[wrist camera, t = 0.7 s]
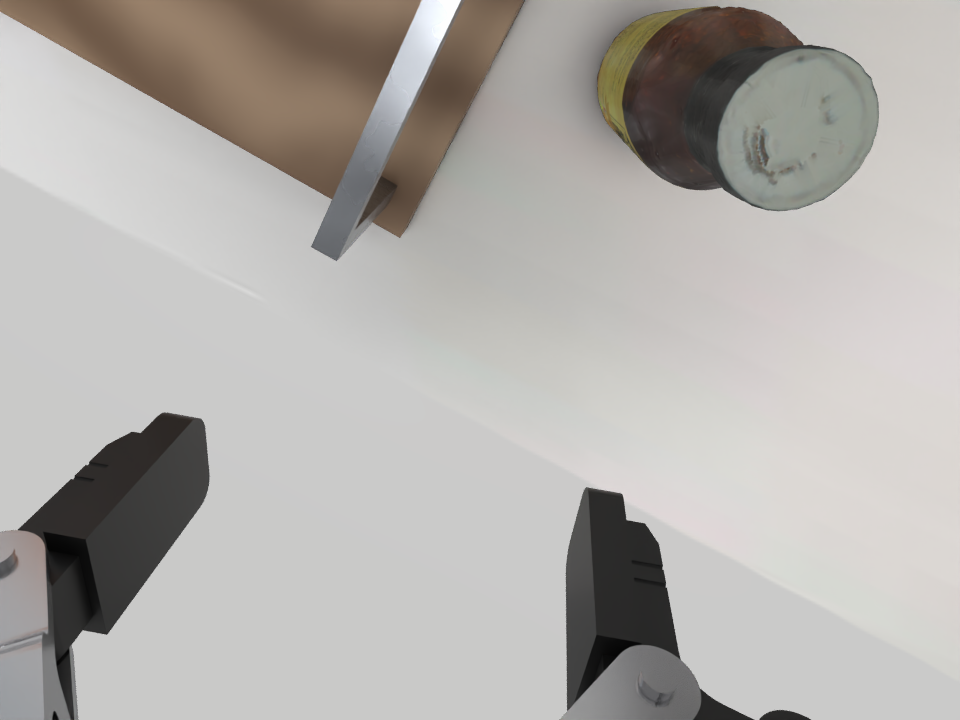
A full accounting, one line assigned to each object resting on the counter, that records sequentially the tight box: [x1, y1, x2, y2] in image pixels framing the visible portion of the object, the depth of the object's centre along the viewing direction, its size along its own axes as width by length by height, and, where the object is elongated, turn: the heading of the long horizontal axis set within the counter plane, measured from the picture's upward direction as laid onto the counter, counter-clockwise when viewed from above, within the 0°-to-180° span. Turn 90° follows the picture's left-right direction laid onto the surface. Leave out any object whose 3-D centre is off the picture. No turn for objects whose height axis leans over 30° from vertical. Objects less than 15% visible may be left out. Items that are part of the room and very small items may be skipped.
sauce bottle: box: [597, 6, 879, 211], centre depth 25 cm, size 7×6×20 cm
